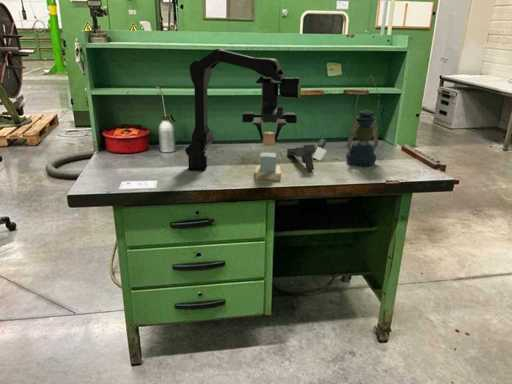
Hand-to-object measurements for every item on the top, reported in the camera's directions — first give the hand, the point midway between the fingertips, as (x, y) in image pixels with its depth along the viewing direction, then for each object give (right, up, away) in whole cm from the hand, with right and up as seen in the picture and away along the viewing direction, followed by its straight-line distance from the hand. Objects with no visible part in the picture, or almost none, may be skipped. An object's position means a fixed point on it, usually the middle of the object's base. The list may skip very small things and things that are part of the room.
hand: (268, 141), depth 150 cm
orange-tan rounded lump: (0, -1, 0) cm, 1 cm away
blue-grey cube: (0, -10, +4) cm, 11 cm away
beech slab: (0, -12, +5) cm, 13 cm away
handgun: (+13, -7, +21) cm, 25 cm away
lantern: (+38, -6, +22) cm, 44 cm away
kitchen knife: (+25, 0, +37) cm, 45 cm away
